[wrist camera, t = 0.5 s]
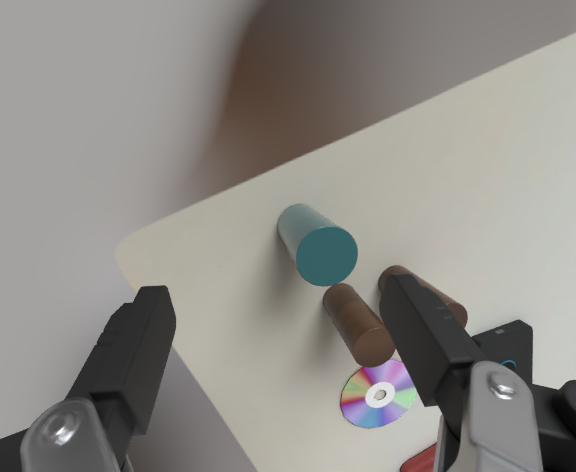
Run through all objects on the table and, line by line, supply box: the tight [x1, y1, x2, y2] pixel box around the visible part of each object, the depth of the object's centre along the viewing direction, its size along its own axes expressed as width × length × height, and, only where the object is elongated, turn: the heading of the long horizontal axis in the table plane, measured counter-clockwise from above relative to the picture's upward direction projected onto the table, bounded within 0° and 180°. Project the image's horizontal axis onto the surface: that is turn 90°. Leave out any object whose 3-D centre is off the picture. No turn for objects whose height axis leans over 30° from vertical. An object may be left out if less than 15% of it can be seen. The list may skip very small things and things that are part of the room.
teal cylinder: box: [278, 204, 358, 286], centre depth 25 cm, size 5×5×10 cm
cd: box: [341, 360, 417, 428], centre depth 37 cm, size 11×11×1 cm
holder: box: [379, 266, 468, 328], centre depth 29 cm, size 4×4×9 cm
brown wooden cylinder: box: [323, 283, 396, 368], centre depth 28 cm, size 4×4×9 cm
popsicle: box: [401, 444, 437, 472], centre depth 42 cm, size 4×2×15 cm
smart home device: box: [472, 320, 533, 384], centre depth 40 cm, size 8×2×20 cm
